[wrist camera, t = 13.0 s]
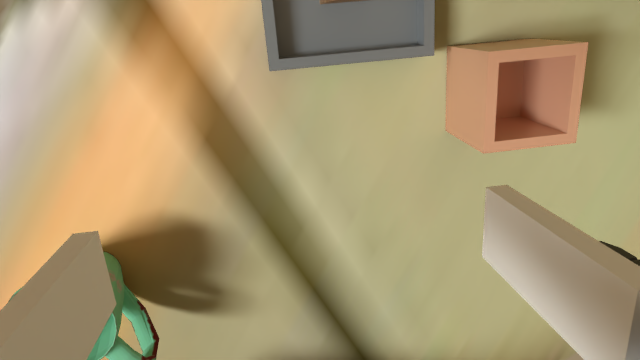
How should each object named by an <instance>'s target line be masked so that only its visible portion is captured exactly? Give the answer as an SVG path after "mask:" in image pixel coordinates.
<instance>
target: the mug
mask: <svg viewBox="0 0 640 360" xmlns="http://www.w3.org/2000/svg"><path fill="white" fill-rule="evenodd" d="M103 253H104V257H105V261H106V265H107V269H108V273H109V277H110V281H111V284H112V288H113V292H114V296H115V300H116V306H115V308H114V310H113V312H112V313H111V315H110V317H109V319H108V321H107V323H106V325H105V326H104V328H103V330H102V332H101V334H100V336H99V338H98V340H97V341H96V343H95V345H94V347H93V349H92V351H91V353H90V354H89V356H88V358H87V360H100V359H102V358H103V357H104V356H105V357H107V358H108V359H109V360H156V355H157V349H158V343H159V337H158V335H157V332H156V330H155V328H154V326H153V324H152V321H151V319H150V317H149V315H148V313H147V310H146V308H145V307H144V306H143V305H142V304H141V302H140V301H139V300H138V299H137V298H136V297H135V296H134V294H133V293H132V292H131V291H130V290H129V289H128V288H127V286H126V285H125V284H124V282H123V275H122V270H121V265H120V263H119V262H118V260H117V259H116V258H115V257H114V256H113V255H111V254H109V253H107V252H103ZM20 290H21V288H20V289H19V290H18V291H17V292H15V294H14V295H13V296H12V297H11V298H10V300H11V299H12V298H13V297H14V296H15V295H16V294H17V293H18V292H19V291H20ZM10 300H9V301H10ZM122 312H123V314H124V315H125V316H126V317H127V318H128V319H129V320H130V322H131V323H132V326H133V328H134V331H135V334H136V336H137V339H138V341H139V344H140V346H141V349H142V351H143V354H142V355H141V354H140V353H138V352H136V351H134V350H133V349H132V348H131V347H130V346H129V345H128V344H127V343H125V342H124V341H123V340H122V339H121V338H120V337H119V336H118V332H119V328H120V324H121V316H122Z"/></svg>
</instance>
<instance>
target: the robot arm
mask: <svg viewBox="0 0 640 360" xmlns="http://www.w3.org/2000/svg"><path fill="white" fill-rule="evenodd" d="M482 257H483V258H484V259H485V260H486V261H487V262H488V263H489V264H490V265H491V266H492V267H493V268H494V269H495V270H496V271H497V272H498V273H499V274H500V275H501V276H502V277H503V278H504V279H505V280H506V281H507V282H508V283H509V284H510V285H511V286H512V287H513V288H514V289H515V291H516V292H517V293H518V294H519V295H520V296H521V297H522V298H523V299H524V300H525V301H526V302H527V303H528V304H529V305H530V306H531V307H532V308H533V309H534V310H535V311H536V312H537V313H538V314H539V315H540V316H541V317H542V318H543V319H544V320H545V321H546V322H547V323H548V324H549V325H550V326H551V327H552V328H553V329H554V330H555V331H556V332H557V333H558V334H559V335H560V336H561V337H562V338H563V339H564V340H565V341H566V342H567V343H568V344H569V345H570V346H571V347H572V348H573V349H574V350H575V351H576V352H577V353H578V354H579V355H580V356H581V357H582V358H583V359H584V360H640V260H637V258H636V257H635V256H633V255H631V254H630V253H628V252H626V251H625V250H623V249H621V248H619V247H616V246H613V245H610V244H608V243H605V242H602V241H597V240H596V239H594V238H593V237H591V236H589V235H588V234H586V233H584V232H583V231H581V230H580V229H578V228H576V227H575V226H573V225H571V224H570V223H568V222H566V221H565V220H563V219H562V218H560V217H558V216H557V215H555V214H553V213H552V212H550V211H549V210H547V209H545V208H544V207H542V206H540V205H539V204H537V203H535V202H534V201H532V200H531V199H529V198H527V197H526V196H524V195H522V194H521V193H519V192H518V191H516V190H514V189H513V188H511V187H509V186H508V185H501V186H492V187H486V196H485V214H484V233H483V252H482ZM115 306H116V300H115V296H114V292H113V288H112V284H111V281H110V277H109V273H108V269H107V265H106V261H105V257H104V253H103V249H102V245H101V241H100V238H99V234H98V231H94V232H85V233H77V234H73V235H72V236H71V237H70V238H69V239H68V240H67V241H66V242H65V243H64V244H63V245H62V246H61V247H60V248H59V249H58V250H57V251H56V252H55V254H54V255H53V256H52V257H51V258H50V259H49V260H48V261H47V262H46V263H45V264H44V265H43V266H42V267H41V268H40V269H39V270H38V272H37V273H36V274H35V275H34V276H33V277H32V278H31V279H30V280H29V281H28V282H27V283H26V284H25V285H24V286H23V287H22V288H21V290H20V291H19V292H18V293H17V294H16V295H15V296H14V297H13V298H12V299H11V300H10V301H9V302H8V303H7V304H6V305H5V306H4V308H3V309H2V310H1V311H0V360H87V358H88V356H89V354H90V353H91V351H92V349H93V347H94V345H95V343H96V341H97V340H98V338H99V336H100V334H101V332H102V330H103V328H104V326H105V325H106V323H107V321H108V319H109V317H110V315H111V313H112V312H113V310H114V308H115Z"/></svg>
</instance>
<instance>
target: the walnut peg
mask: <svg viewBox="0 0 640 360" xmlns="http://www.w3.org/2000/svg"><path fill="white" fill-rule="evenodd" d="M355 1H367V0H320V4H331V3H343V2H355Z"/></svg>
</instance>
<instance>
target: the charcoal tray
mask: <svg viewBox="0 0 640 360" xmlns="http://www.w3.org/2000/svg"><path fill="white" fill-rule="evenodd" d="M261 2H262V11H263V19H264V28H265V36H266V45H267V53H268V62H269V70H270V71H277V70H287V69H298V68H308V67H318V66H329V65H339V64H350V63H360V62H371V61H381V60H392V59H402V58H413V57H423V56H434V21H435V0H367V1H355V2H343V3H331V4H320V0H261Z"/></svg>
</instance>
